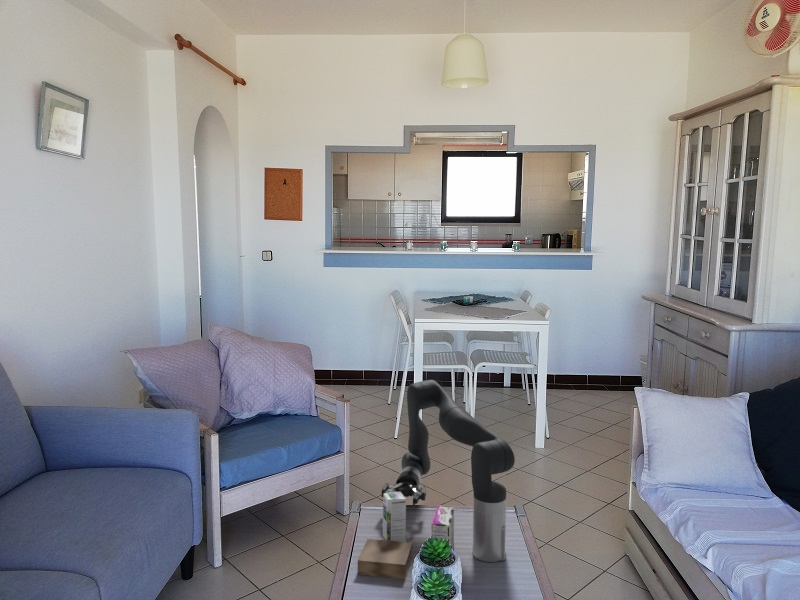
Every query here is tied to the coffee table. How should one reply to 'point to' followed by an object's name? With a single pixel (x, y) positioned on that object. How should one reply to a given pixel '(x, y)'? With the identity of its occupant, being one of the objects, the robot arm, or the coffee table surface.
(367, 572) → the walnut riser
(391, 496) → the syrup box
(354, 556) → the coffee table surface
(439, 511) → the candy bar box
